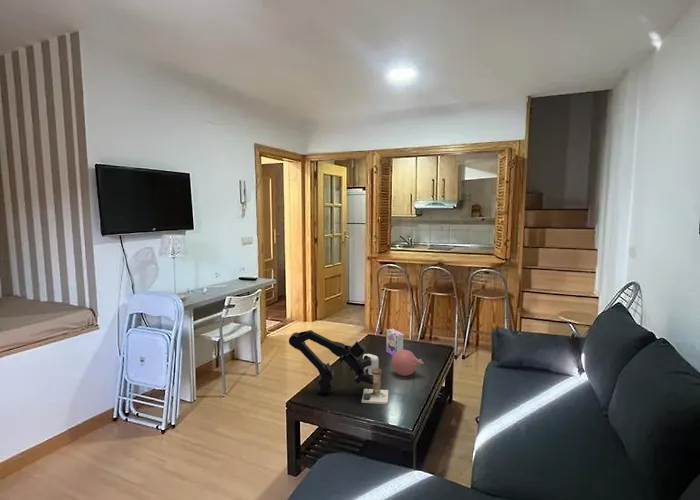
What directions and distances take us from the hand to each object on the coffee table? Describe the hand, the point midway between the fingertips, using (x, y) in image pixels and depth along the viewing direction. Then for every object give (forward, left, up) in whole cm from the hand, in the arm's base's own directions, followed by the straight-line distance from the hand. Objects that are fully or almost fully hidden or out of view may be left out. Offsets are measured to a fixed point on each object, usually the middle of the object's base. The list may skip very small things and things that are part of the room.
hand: (372, 383), depth 214 cm
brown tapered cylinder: (+2, -3, -6) cm, 6 cm away
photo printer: (-17, +22, -7) cm, 29 cm away
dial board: (+2, -1, -7) cm, 7 cm away
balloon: (+2, +34, -7) cm, 35 cm away
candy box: (-22, +59, -7) cm, 64 cm away
